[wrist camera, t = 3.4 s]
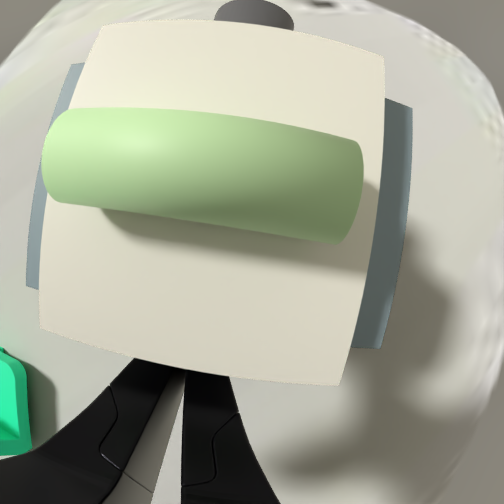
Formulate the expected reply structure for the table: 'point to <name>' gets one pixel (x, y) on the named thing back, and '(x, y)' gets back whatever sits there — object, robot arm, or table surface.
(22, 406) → the camera mount
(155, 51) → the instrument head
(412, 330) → the table surface
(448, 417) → the table surface
